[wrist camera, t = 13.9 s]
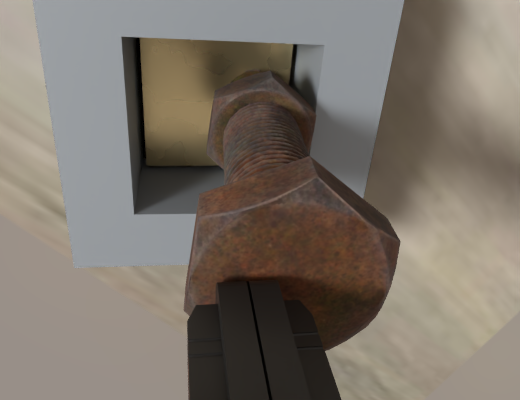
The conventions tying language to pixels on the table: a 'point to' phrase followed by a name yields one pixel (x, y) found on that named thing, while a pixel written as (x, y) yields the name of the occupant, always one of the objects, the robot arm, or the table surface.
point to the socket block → (129, 118)
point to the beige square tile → (194, 90)
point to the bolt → (286, 214)
